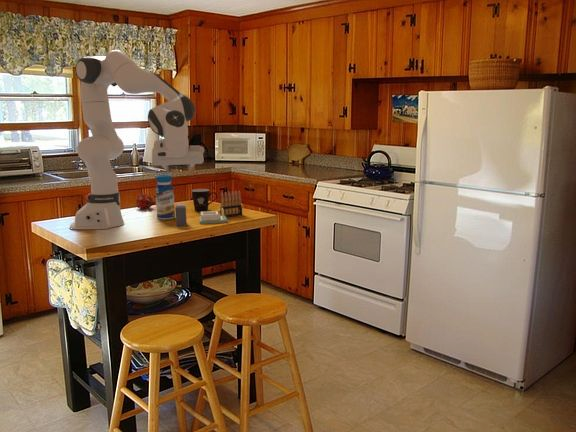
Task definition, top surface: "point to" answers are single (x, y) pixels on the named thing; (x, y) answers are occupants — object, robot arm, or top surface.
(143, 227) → the top surface
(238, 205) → the ammunition clip
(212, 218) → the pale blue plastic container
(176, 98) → the robot arm
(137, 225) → the top surface
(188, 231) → the top surface
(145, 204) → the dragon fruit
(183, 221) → the plug
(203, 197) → the coffee mug
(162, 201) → the blue and white bottle
